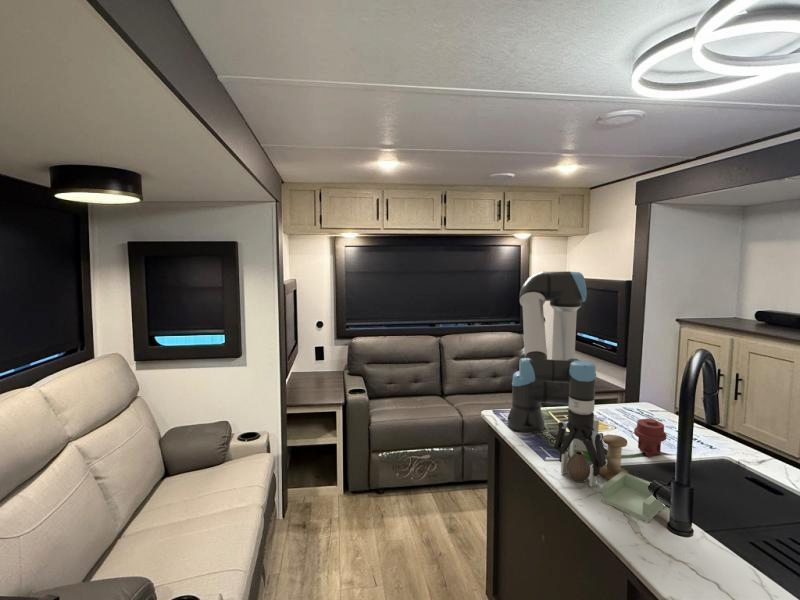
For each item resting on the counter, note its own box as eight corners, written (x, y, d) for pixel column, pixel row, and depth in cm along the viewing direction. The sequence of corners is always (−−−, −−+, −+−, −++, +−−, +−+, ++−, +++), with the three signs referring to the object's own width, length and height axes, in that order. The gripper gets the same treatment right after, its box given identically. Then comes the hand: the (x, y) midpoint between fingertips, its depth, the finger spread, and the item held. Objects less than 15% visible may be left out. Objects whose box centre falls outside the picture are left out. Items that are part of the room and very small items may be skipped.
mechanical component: (652, 462, 147) (626, 450, 156) (671, 456, 152) (645, 445, 161) (655, 428, 146) (628, 418, 155) (673, 423, 150) (646, 413, 159)
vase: (588, 474, 140) (589, 449, 139) (591, 486, 133) (592, 459, 132) (565, 472, 141) (566, 446, 140) (567, 483, 135) (568, 456, 134)
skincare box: (571, 461, 148) (573, 418, 147) (568, 453, 155) (570, 411, 153) (597, 464, 146) (599, 420, 145) (593, 455, 153) (595, 413, 151)
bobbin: (592, 474, 140) (594, 438, 139) (606, 465, 146) (607, 431, 144) (620, 485, 133) (622, 448, 132) (633, 476, 139) (635, 440, 137)
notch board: (600, 500, 125) (601, 485, 124) (620, 485, 133) (621, 470, 132) (648, 522, 115) (649, 505, 114) (667, 504, 123) (668, 488, 122)
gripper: (543, 403, 141) (541, 468, 143) (609, 424, 124) (606, 497, 126) (556, 399, 145) (554, 462, 148) (621, 417, 128) (618, 488, 131)
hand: (578, 478), depth 137 cm, fingers open, 9 cm apart
